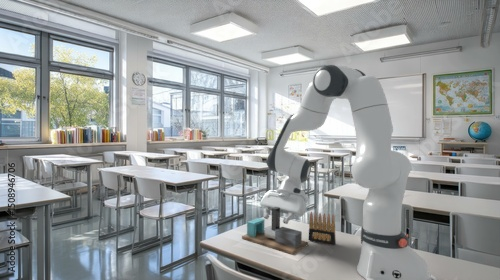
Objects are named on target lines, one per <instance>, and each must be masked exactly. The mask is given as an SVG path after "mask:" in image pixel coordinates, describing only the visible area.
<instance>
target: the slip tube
mask: <svg viewBox="0 0 500 280" xmlns="http://www.w3.org/2000/svg"><path fill="white" fill-rule="evenodd" d="M280 227H281V213H280V208H279V207H274V208H272V211H271V225H269V226H267V227H264V230H265V237H269V238H272V239H275V230H276V229H278V228H280Z"/></svg>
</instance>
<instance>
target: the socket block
mask: <svg viewBox="0 0 500 280" xmlns="http://www.w3.org/2000/svg"><path fill="white" fill-rule="evenodd" d="M264 230H265V218H260V217H256V218H254V219H252V220H249V221H247V222H246V232H247V233H246V234H247V235H248V236H251V237H255V236H256V232H260V233H264Z"/></svg>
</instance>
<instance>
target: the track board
mask: <svg viewBox="0 0 500 280" xmlns="http://www.w3.org/2000/svg"><path fill="white" fill-rule="evenodd" d="M302 234H303V233H302V231H300V230H296V229H293V228H289V227H284V226H280V228H278V229H276V230H275V239H272V238H269V237H265V229H264V233H260V232H256V236H255V237H251V236H248V235H247V233H246V234H244V235H241V239H243V240H245V241H247V242H248V241H249V242H252V243H255V244H258V245H260V246H261V245H262V246H263V247H268V248H270V249H274V250H276V251H280V252H283V253H286V254H289V255H294V254H297V252H299V251H301V250H302V249H304V248H305V247H307V246H308V245H309V241H305V240H302V236H303V235H302ZM306 245H307V246H306ZM303 247H304V248H303Z"/></svg>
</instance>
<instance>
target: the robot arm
mask: <svg viewBox="0 0 500 280" xmlns="http://www.w3.org/2000/svg"><path fill="white" fill-rule="evenodd" d="M312 79H313V80H312V81H310V82H309V83H308V86H307V87H306V90H305V92H304V94H303V96H302V99H301V102H300V106H299V108H298V110H297V111H296V112H295V113H293V114H291V115H289V117H288V118H287V119H286V121H285V123H284V124H283V127H282V128H281V130H280V133H278V136H277V138H276V141H275V143H274V145H273V147H272V149H271V151H269V153H268V155H267V157H266V163H265V164H266V166H267V167H268V169H269V170H270V171H272V172H274V173H279V174H280V175H284V179H282V181H281V182H280V185H279V186H278V188H277V190H275V189H270V190H267V191H266V193H264V195H263V197H262V198H261V200H260V201H259V205H260V206H261V208H262V209H263V210H264V214H263V219H264V220H265V219H266V220H269V218H270V214H269V213H271V212H272V208H274V207H279V208H280V214H281V213H282V214H286V215H287V216H286V217H283V220H282V223H283V224H285V225H288V224H289V221H291V220H292V219H293V218H294V216H295V217H298V218H301V217H303V216H304V215H305V212H306V209H307V203H308V201H309V199H308V196H307V195H306V193H305V191H304V190H302V189H301V188H302V187H303V185H304V184H305V182H307V180H308V178H309V176H310V173H311V171H312V165H311V162H310V161H309V159H308V158H305V157H303V156H300V155H298V154H297V155H296V154H294V153H292V152H289V151H286V150H285V147H286V144H287V143H288V141H289V139H290V137H291V135H292V134H293V133H295V132H308V131H309V132H311V131H314V130H318V129H320V128H321V127H322V126H323V125H324V123H326V119H327V117H328V115H329V111H330V109H331V105H332V103H333V102H334V100H336V99H342V100H344V99H345V100H348V103H349V105H350V111H351V115H352V121H353V126H354V130H355V131H354V132H355V137H356V143H355V144H356V146H355V149H356V150H355V158H354V161H353V163H352V166H351V169H350V170H351V171H350V173H351V177H352V179H353V180H354V182H355V183H356V184H357V185H358V186H360V187H361V188H365V189H368V191H367V195H366V197H365V199H364V201H363V205H362V226H361V229H360V243H361V249H360V255H359V259H358V260H359V261H358V263H357V266H356V272H357V273H358V274H359V276H361V277H363V278H364V279H365V280H437V278H436V277H435V276H434V275H432V274H430V271H429V267H428V266H429V265H428V264H427V262H426V260H425V259H424V257H422V256H421V255H420V254H419V253H417V251H415V250H414V249H413V248H411V246H410V245H409V233H407V234H405V233H404V232H403V231H402V211H403V210H402V207H403V201H404V198H405V197H404V196H405V192H406V188H407V182H408V178H409V175H410V174H411V171H412V163H411V161H410V159H409V158H408V157H407V156H406V155H405V154H403V153H401V152H399V151H396V150H392V135H393V132H394V126H393V122H392V117H391V113H390V109H389V108H390V107H389V104H388V101H387V97H386V94H385V92H384V89H383V87H382V84H381V82H380V81H379V79H378V77H375V76H373V75H366V73H364V72H363V71H362V70H360V69H356V68H351V67H348V66H344V65H334V64H328V65H323V66H321V67H319V68H318V69H317V70H316V71H315V72H314V75H313V78H312Z"/></svg>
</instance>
